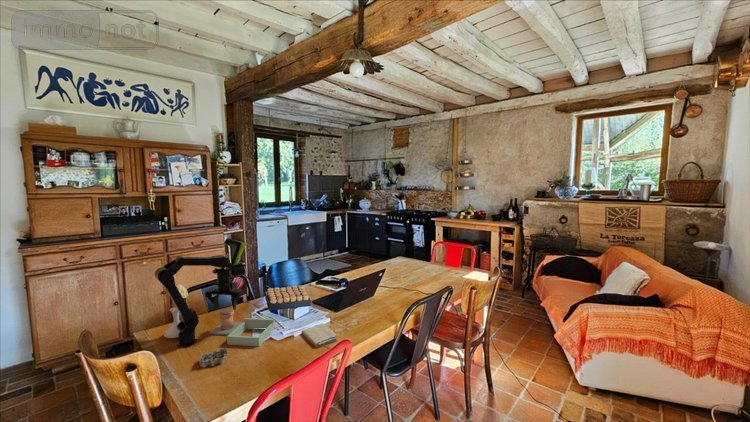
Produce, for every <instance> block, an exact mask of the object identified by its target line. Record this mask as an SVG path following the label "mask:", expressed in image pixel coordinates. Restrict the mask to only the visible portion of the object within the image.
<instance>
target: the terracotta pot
mask: <svg viewBox="0 0 750 422" xmlns="http://www.w3.org/2000/svg"><path fill="white" fill-rule="evenodd" d="M234 312H235V310H233V309H225V310H221V311H220V312H219V313H218V317H219V320H220V324H221V329H222V330H229V329H231V328H233V327H234V322H235V321H234V314H235V313H234Z"/></svg>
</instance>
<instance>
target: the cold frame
mask: <svg viewBox="0 0 750 422" xmlns="http://www.w3.org/2000/svg"><path fill="white" fill-rule="evenodd" d="M243 320H244V321H242V322H243V323H242V324H241V325H240V326H239V327H237V328H236V329H235V330H234V331H233V332H232V333H230V334H229V335H226V340H227V345H230V346H231V345H233V346H247V347H248V346H250V347H251V346H252V347H261V345H263V343H264V342H265V339H266V337H267V336H268V335H269V333H270V332H271V331H272V330H273V329H274V328H275V329H276V324H275V319H274V318H259V317H257V318H255V317H244V319H243ZM253 328H266V329H265V330H262V332H261V333H260V334H259V335H258V336H252V335H251V336H250V335H247V336H245V335H242V334H243V333H244V332H245V331H246V330H254V329H253ZM269 336H270V335H269ZM269 336H268V337H269ZM266 340H267V339H266Z"/></svg>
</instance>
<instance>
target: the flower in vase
mask: <svg viewBox="0 0 750 422" xmlns="http://www.w3.org/2000/svg"><path fill="white" fill-rule="evenodd" d="M176 287H177V289H178V290H179V292H180V294H181V296H182V297H183V299H186V298H188V296H189V293H188V290H187V289H186V288H185V286H184V285H182V284H177V286H176ZM171 306H173V307H171V308H170V309H169V312H170V313H171V314H172V317H173V322H172V325H170V326H169V327H168V328H167V329H166V330H165V332H164V333H163V336H164V337H165V338H166V339H177V338H179V335H178V334H179V332H180V331H179V330H178V329H177V325H178V324H179V323H180V321H181V320H180V314H179V310H178V309H177V307H176V305H175V304H174V303H172V304H171Z"/></svg>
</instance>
